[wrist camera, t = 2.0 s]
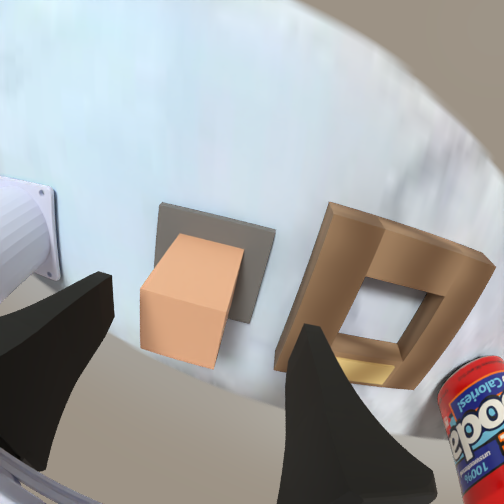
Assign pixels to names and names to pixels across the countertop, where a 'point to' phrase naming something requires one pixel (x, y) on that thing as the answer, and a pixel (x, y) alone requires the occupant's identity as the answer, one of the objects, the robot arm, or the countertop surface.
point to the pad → (224, 232)
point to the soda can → (476, 428)
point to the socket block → (390, 270)
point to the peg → (189, 300)
